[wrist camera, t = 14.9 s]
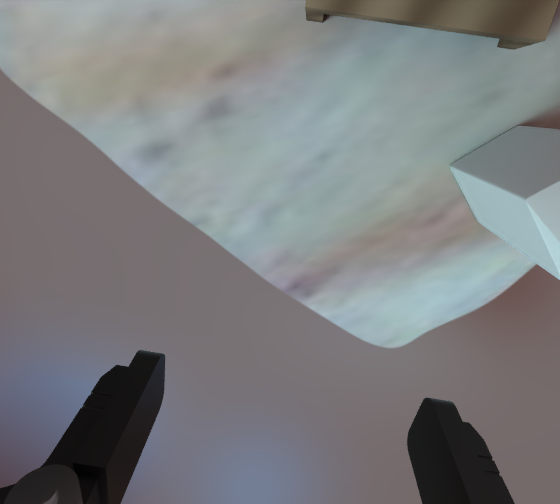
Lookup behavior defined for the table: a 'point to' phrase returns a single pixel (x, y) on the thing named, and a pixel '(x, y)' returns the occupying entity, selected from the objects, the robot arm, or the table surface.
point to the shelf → (452, 16)
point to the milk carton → (517, 191)
